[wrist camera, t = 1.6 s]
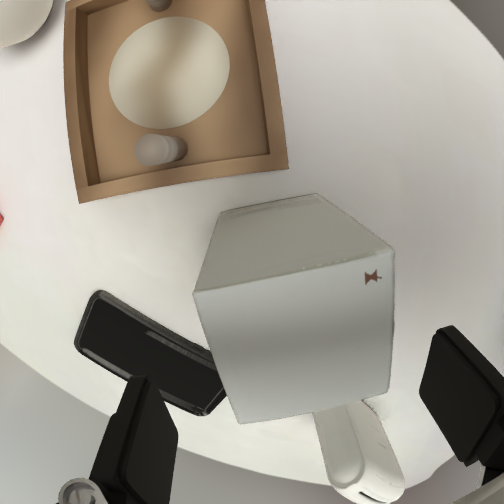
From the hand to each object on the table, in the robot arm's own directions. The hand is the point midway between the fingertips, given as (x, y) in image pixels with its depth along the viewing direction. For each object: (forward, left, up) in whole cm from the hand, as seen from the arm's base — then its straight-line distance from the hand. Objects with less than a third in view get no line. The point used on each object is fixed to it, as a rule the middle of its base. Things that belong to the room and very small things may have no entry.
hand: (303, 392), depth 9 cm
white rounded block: (-7, +19, -15) cm, 25 cm away
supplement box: (-1, 0, -15) cm, 15 cm away
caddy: (+5, -14, -15) cm, 21 cm away
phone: (+11, +9, -15) cm, 21 cm away
